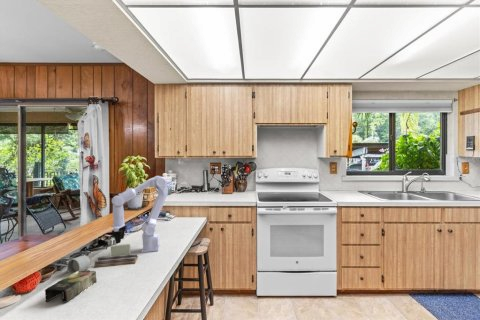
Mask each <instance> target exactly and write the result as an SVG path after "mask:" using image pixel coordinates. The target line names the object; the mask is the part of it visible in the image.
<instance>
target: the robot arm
mask: <svg viewBox="0 0 480 320" xmlns="http://www.w3.org/2000/svg"><path fill="white" fill-rule="evenodd" d="M149 187H151V188H152V187H153V188H156V189H157V192H158V194H157V196H156V199H155V201H154V203H153V206H152V208H151V210H150V213H149V215H148V217H147V218H146V220H145V222H144V223H142V225H141V231H142V234H141V235H142V236H141V238H142V240H141V241H142V250H141V253H149V252H159V249H160V247H161V245H160V234H159V233H156V227H157V220H158V218H159V215H160V213H161V211H162V209H163V207H164V205H165V202H166V200H167V197H168V194H169V189H168V181H167V180H166V178H165V177H163V176H161V175H155V176H154V177H151V178H149V179H147V180H145V181H144V182H142V183H141V184H139V185H137V186H135V187H134V188H133V187H129V188H126V189H125V190H124V191H123V192H121V193H118V194H117V195H115V196H113V197H112V199H111V203H112V221H113V224H112V225H111V228H113V230H111V234H112V236H113V237H114V240H115V243H116V244H120V243H121V242H122V241H121V240H124V238H125V233H126V232H125V231H126V229H127V225H126V223H125V211H124V204H125V203H127V202H129V201H130V200H132V199H133V198H135V197H136V196H137V194H138V193H140V192H142V191H144V190H146V189H147V188H149Z"/></svg>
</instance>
